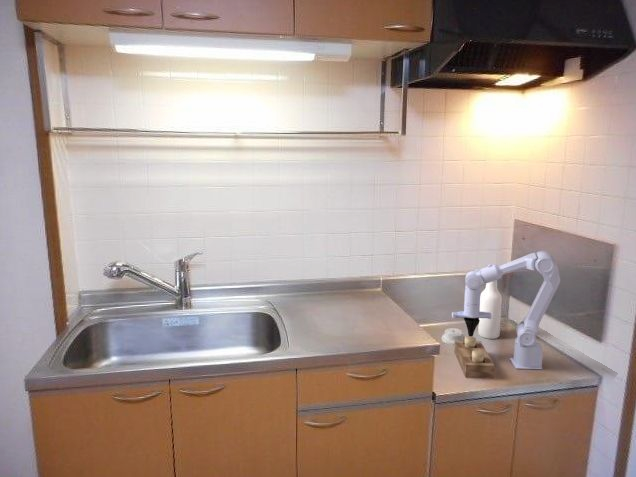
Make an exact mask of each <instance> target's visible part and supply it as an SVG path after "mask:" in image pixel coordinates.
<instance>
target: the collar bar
mask: <svg viewBox="0 0 636 477" xmlns="http://www.w3.org/2000/svg"><path fill="white" fill-rule="evenodd" d="M453 350H454V355H455V357H456V359H457V362H458V364H459V367H460V369H461V370H462V373H463V375H464V377H465V378H468V379H472V378H473V379H480V378H481V379H495V366H496V365H495V364H494V362H493V360H492V358H491V357H490V355H489V354H488V352H487V350H486V348H485V347H484V345H483V343H482V341H481V340H476V343H475V348H465V341H455V345H454V349H453ZM473 350H480V351H483V352H484V358H483V363H473V362H472V351H473Z"/></svg>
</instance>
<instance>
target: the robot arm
mask: <svg viewBox="0 0 636 477" xmlns="http://www.w3.org/2000/svg"><path fill="white" fill-rule="evenodd" d="M522 269H527V270H531V271H535V269H536V270H537V272H538V273H539V274H540V275H542V278H543V282H542V284H541V286H540V288H539V290H538V292H537V294H536V296H535V297H534V299H533V302H532V304H531V306H530V308H529V310H528V312H527V313H526V315H525V316H524V317H523V319H522V320H521V321H520V322H518V323H517V325H516V327H515V331H516V334H517V335H516V337H515V339H514V348H513V350H514V351H513V357H510V358H509V360H510V361H511V364H512V365H513V366H514V367H515V369H517V370H518V369H519V370H543V367H542V365H543V353H544V350H543V346H542V344H541V343H540V342H538V341H537V333H538V331H539V327H540V323H541V321H542V319H543V316H545V314H546V311H547V309H548V308H549V305H550V304H551V301H552V300H553V297H554V296H555V294H556V291H557V290H558V288H559V285H560V283H561V276H560V271H559V266H558V265H557V263H556V261H555V259H554V257H553V256H552V255H551V253H550V252H549V251H547V250H539V251H537V252H531V253H529V254H526V255H524V256H522V257H519V258H516V259H514V260H511V261H509V262H506V263H504V264H501V265H497V264H492V263H489V264H487V267H483V268H480V269H478V268H477V269H475V270H471V271H469V272H467V273H466V275H465V280H464V282H465V288H464V289H465V290H464V298H463V299H464V300H463V301H464V302H463V304H464V305H463V310H461V311H452V312H451V318H452V319H455V320H456V319H463V320H464V322H465V326H466V329H467V336H472V337H474V333H475V330H476V328H478V326H479V322H480V320H479V318H488V319H491V315H492V314H491V313H490V312H480V295H481V293H482V291H481V287H482V285H486V283H489V282H492V281H495V280H497V281H498V280H500V279H502V277H503V276H504V275H506V274H509V273H513V272H516V271H520V270H522Z"/></svg>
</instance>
